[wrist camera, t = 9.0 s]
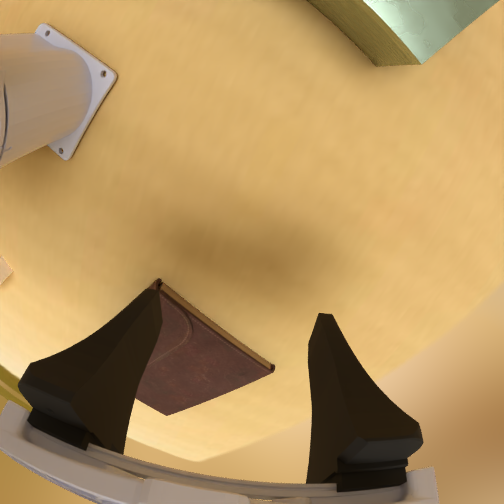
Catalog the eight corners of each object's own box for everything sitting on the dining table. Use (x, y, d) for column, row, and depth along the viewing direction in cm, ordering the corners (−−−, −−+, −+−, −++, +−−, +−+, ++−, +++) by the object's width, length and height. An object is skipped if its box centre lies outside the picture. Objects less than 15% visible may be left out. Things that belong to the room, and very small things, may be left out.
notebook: (275, 362, 31) (274, 377, 29) (171, 408, 39) (167, 419, 38) (160, 274, 26) (152, 288, 24) (82, 350, 34) (76, 361, 33)
